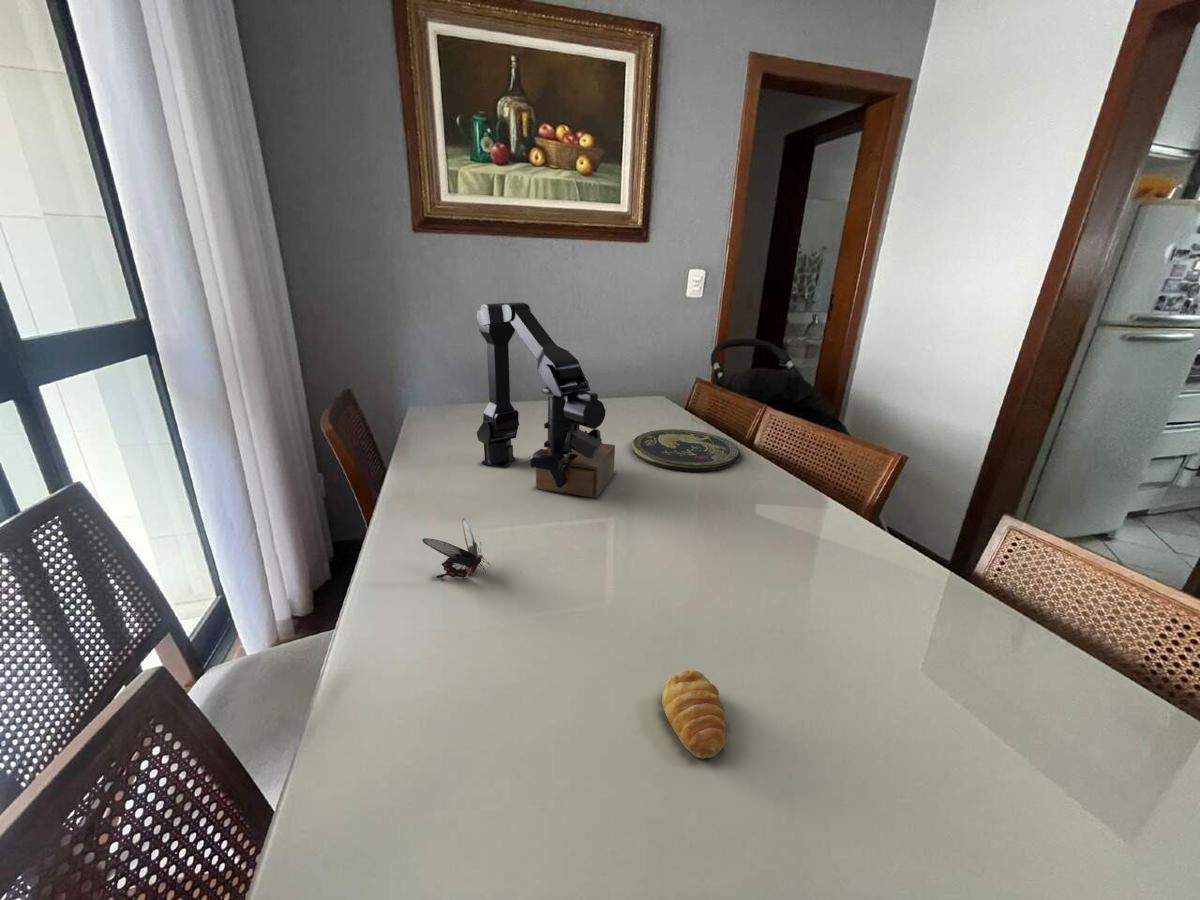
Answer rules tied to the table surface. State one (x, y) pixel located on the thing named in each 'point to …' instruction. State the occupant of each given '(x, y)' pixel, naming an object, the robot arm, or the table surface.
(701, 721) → the pastry
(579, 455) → the cabinet
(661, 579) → the table surface
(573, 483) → the drawer
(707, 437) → the decorative plate
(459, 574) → the butterfly
